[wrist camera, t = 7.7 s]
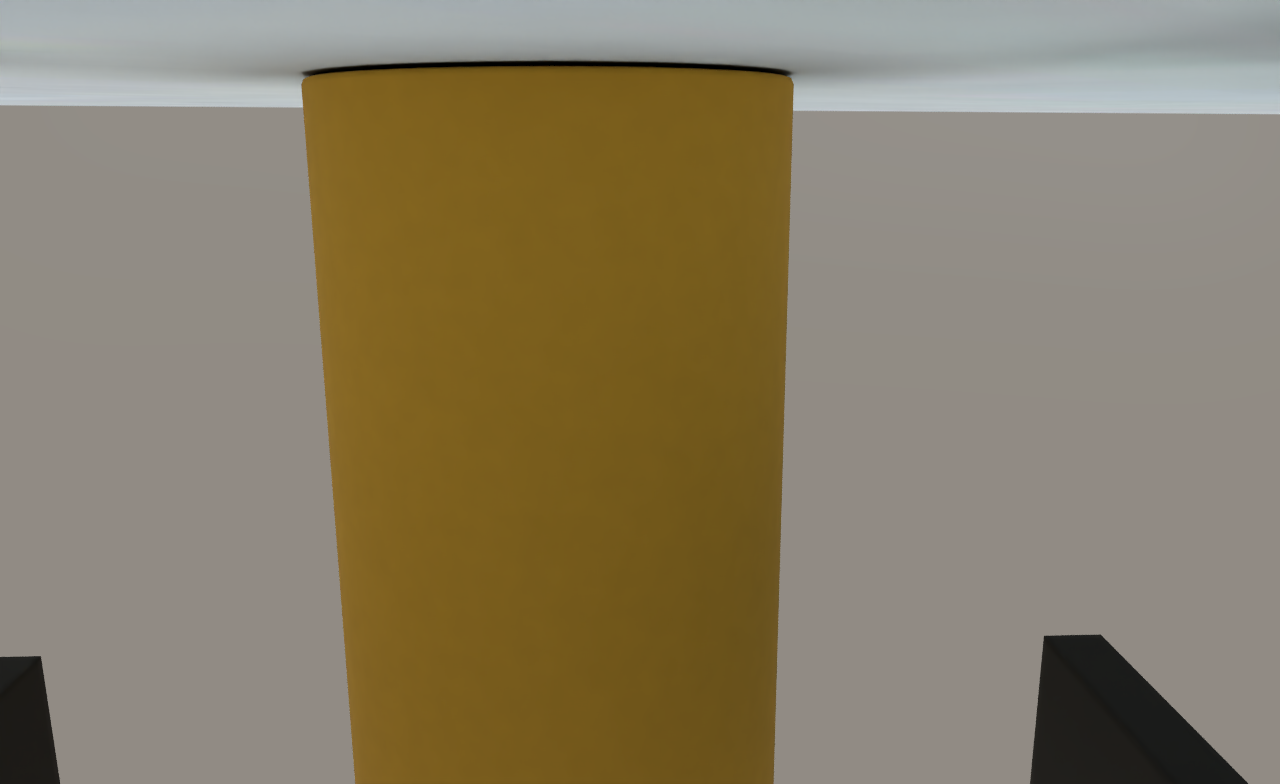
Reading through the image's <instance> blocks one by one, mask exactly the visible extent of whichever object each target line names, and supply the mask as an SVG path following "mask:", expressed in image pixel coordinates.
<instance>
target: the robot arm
mask: <svg viewBox="0 0 1280 784" xmlns="http://www.w3.org/2000/svg"><path fill="white" fill-rule="evenodd" d="M0 784H60V780H59V773H58V767H57V760H56V753H55V747H54V740H53V734H52V727H51V720H50V714H49V707H48V701H47V694H46V687H45V681H44V675H43V668H42V661H41V656H32V657H0ZM1030 784H1248V783H1247V782H1246V781H1245V780H1244V779H1243V778H1242V777H1241V776H1240V775H1239V774H1238V773H1237V772H1236V771H1235V770H1234V769H1233V768H1232V767H1231V766H1230V765H1229V764H1228V763H1227V762H1226V761H1225V760H1224V759H1223V758H1222V757H1221V756H1220V755H1219V754H1218V753H1217V752H1216V751H1215V750H1214V749H1213V748H1212V747H1211V745H1209V743H1207V741H1206V740H1204V739H1203V738H1202V736H1201V735H1200V734H1199V733H1197V731H1196V730H1194V728H1193V727H1192V726H1191V725H1190V724H1189V723H1188V722H1187V721H1186V720H1185V719H1184V718H1183V717H1182V716H1181V715H1180V714H1179V713H1178V712H1177V711H1176V710H1175V709H1174V708H1173V707H1172V706H1171V705H1170V704H1169V703H1168V702H1167V701H1166V700H1165V699H1164V698H1163V697H1162V696H1161V695H1160V694H1159V693H1158V692H1157V691H1156V690H1155V689H1154V688H1153V687H1152V686H1151V685H1150V684H1149V683H1148V682H1147V681H1146V680H1145V679H1144V678H1143V677H1142V676H1141V675H1140V674H1139V673H1138V672H1137V671H1136V670H1135V669H1134V668H1133V667H1132V666H1131V665H1130V664H1129V663H1128V662H1127V661H1126V660H1125V659H1124V658H1123V657H1122V656H1121V655H1120V654H1119V653H1118V652H1117V651H1116V650H1115V649H1114V648H1113V647H1112V646H1111V645H1110V644H1109V643H1108V642H1107V641H1106V640H1105V639H1104V638H1103V637H1102V636H1101V635H1065V636H1064V635H1062V636H1044V642H1043V652H1042V663H1041V674H1040V684H1039V695H1038V706H1037V717H1036V728H1035V738H1034V749H1033V759H1032V769H1031V781H1030Z"/></svg>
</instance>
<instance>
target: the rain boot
mask: <svg viewBox="0 0 1280 784" xmlns="http://www.w3.org/2000/svg"><path fill="white" fill-rule="evenodd" d="M793 88H794V84H793V81H792V79H791V78H790V77H787V76H784V75H781V74H774V73H766V72H756V71H741V70H724V69H701V68H671V67H625V66H478V67H429V68H399V69H377V70H359V71H344V72H332V73H324V74H317V75H312V76H309V77H307V78H305V79H303V82H302V98H303V110H304V123H305V136H306V149H307V162H308V176H309V188H310V201H311V214H312V227H313V240H314V253H315V266H316V279H317V290H318V291H317V292H318V304H319V318H320V331H321V344H322V356H323V370H324V383H325V396H326V408H327V421H328V433H329V434H328V435H329V446H330V447H329V448H330V460H331V473H332V487H333V499H334V512H335V525H336V537H337V551H338V563H339V577H340V590H341V603H342V616H343V628H344V642H345V654H346V668H347V681H348V693H349V707H350V720H351V733H352V745H353V759H354V771H355V784H773V782H774V747H775V712H776V678H777V675H776V674H777V640H778V608H779V572H780V539H781V538H780V537H781V503H782V468H783V434H784V433H783V432H784V399H785V398H784V397H785V396H784V395H785V364H786V363H785V362H786V329H787V295H788V260H789V225H790V191H791V156H792V119H793Z"/></svg>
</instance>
